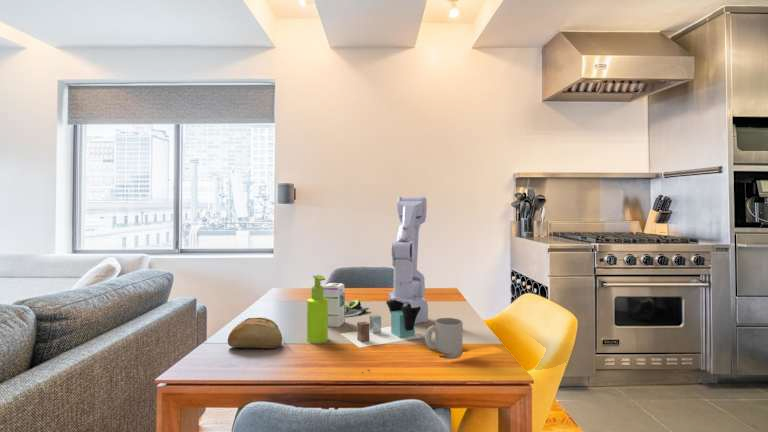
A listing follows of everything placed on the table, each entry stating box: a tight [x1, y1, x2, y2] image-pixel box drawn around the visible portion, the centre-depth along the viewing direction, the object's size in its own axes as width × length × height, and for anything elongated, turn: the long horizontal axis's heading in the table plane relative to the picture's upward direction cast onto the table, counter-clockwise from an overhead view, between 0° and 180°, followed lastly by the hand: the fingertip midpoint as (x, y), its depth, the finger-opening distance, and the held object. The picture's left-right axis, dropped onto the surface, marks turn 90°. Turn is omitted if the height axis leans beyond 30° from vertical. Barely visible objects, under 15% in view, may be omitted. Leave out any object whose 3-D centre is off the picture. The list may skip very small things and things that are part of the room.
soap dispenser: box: [306, 274, 329, 344], centre depth 116 cm, size 6×7×20 cm
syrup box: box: [322, 282, 346, 328], centre depth 133 cm, size 6×6×14 cm
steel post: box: [369, 314, 382, 334], centre depth 124 cm, size 3×3×5 cm
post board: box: [340, 325, 422, 349], centre depth 121 cm, size 20×14×2 cm
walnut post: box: [356, 321, 370, 342], centre depth 116 cm, size 3×3×5 cm
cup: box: [424, 317, 464, 360], centre depth 109 cm, size 7×10×9 cm
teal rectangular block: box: [390, 310, 416, 338], centre depth 122 cm, size 5×5×7 cm
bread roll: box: [227, 317, 283, 349], centre depth 115 cm, size 10×15×8 cm, turn 95°
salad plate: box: [345, 299, 370, 319], centre depth 152 cm, size 19×18×5 cm
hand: (402, 326), depth 122 cm, fingers open, 7 cm apart
